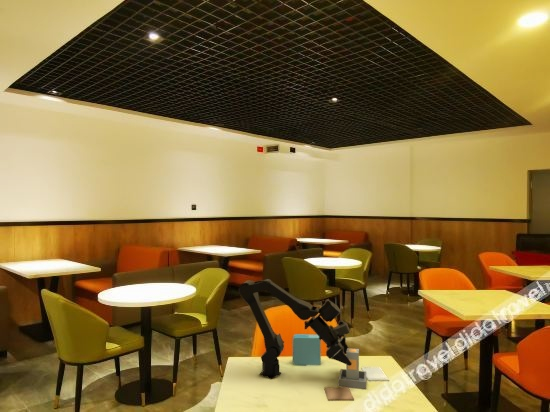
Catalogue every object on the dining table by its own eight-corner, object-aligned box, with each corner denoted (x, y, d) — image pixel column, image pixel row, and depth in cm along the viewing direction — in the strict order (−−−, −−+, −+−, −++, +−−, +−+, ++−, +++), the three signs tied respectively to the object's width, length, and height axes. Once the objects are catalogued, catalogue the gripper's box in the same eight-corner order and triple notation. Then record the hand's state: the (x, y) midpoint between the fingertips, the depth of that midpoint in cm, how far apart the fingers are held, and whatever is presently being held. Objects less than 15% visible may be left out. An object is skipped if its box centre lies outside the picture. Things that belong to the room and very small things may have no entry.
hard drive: (361, 366, 163) (368, 379, 150) (380, 366, 163) (389, 379, 150) (361, 370, 163) (368, 383, 150) (380, 370, 163) (389, 383, 150)
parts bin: (338, 387, 146) (338, 379, 146) (340, 376, 155) (340, 368, 155) (365, 390, 143) (365, 382, 143) (366, 379, 153) (366, 371, 153)
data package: (320, 362, 171) (320, 334, 171) (320, 366, 166) (320, 337, 166) (292, 361, 171) (292, 334, 172) (292, 365, 167) (292, 337, 167)
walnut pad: (328, 401, 134) (327, 398, 134) (324, 390, 143) (324, 387, 143) (353, 401, 134) (353, 398, 134) (348, 389, 143) (348, 387, 143)
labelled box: (346, 384, 147) (346, 351, 148) (347, 379, 152) (347, 347, 152) (358, 385, 146) (358, 353, 147) (358, 380, 151) (358, 348, 151)
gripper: (334, 322, 142) (366, 355, 139) (339, 310, 160) (367, 339, 157) (313, 342, 144) (344, 375, 141) (320, 328, 162) (347, 357, 159)
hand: (351, 360), depth 150 cm, fingers open, 9 cm apart
